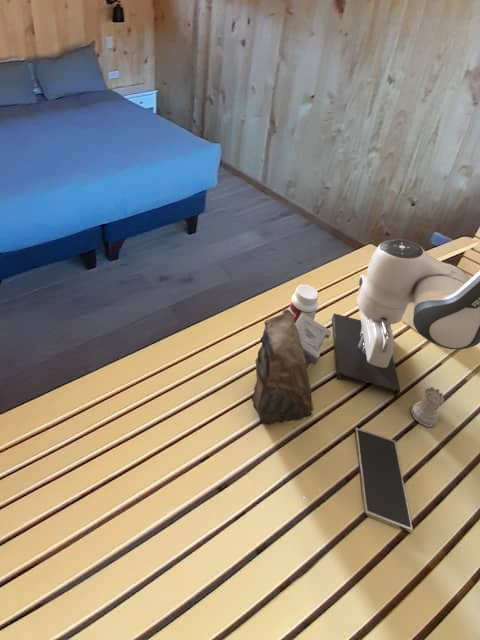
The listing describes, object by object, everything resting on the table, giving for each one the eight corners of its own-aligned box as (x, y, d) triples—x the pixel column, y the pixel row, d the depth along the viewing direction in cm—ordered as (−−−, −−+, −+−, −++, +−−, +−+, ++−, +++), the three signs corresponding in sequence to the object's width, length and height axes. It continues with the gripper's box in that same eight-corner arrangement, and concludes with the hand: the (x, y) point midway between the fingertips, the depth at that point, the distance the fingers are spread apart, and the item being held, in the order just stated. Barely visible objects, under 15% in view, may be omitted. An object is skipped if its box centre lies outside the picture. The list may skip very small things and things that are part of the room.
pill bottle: (283, 314, 108) (290, 282, 103) (305, 313, 108) (314, 282, 103) (291, 333, 103) (299, 300, 98) (315, 333, 103) (325, 300, 97)
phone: (394, 443, 79) (395, 440, 79) (411, 533, 67) (413, 531, 66) (354, 429, 82) (355, 427, 81) (364, 514, 69) (365, 512, 69)
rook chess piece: (426, 431, 81) (440, 407, 77) (405, 411, 85) (417, 387, 81) (440, 422, 82) (454, 398, 79) (418, 402, 86) (431, 379, 83)
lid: (383, 333, 102) (390, 316, 99) (397, 397, 87) (405, 380, 85) (331, 319, 106) (336, 303, 103) (336, 379, 91) (342, 362, 89)
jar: (408, 332, 102) (424, 298, 97) (391, 307, 109) (404, 274, 104) (445, 334, 101) (463, 299, 96) (425, 308, 109) (441, 275, 103)
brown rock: (258, 429, 82) (273, 365, 73) (232, 373, 93) (242, 311, 84) (314, 418, 84) (336, 354, 75) (282, 364, 95) (298, 303, 86)
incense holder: (309, 387, 90) (319, 356, 85) (273, 365, 95) (280, 334, 90) (323, 357, 96) (333, 327, 91) (289, 338, 101) (296, 309, 96)
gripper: (407, 345, 79) (388, 389, 86) (389, 276, 96) (374, 317, 102) (371, 335, 81) (354, 379, 88) (359, 270, 98) (346, 310, 105)
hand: (365, 345), depth 95 cm, fingers closed on lid, 2 cm apart
